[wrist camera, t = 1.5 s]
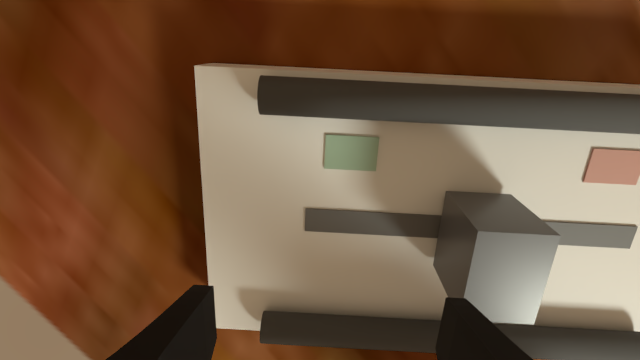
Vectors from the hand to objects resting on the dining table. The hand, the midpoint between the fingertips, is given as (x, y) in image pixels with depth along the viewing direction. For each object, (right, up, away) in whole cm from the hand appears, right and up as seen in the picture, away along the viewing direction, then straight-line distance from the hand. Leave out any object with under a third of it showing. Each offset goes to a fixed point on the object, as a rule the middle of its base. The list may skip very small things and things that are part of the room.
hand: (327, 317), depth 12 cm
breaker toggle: (+7, +2, +6) cm, 10 cm away
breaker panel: (+7, +3, +9) cm, 12 cm away
